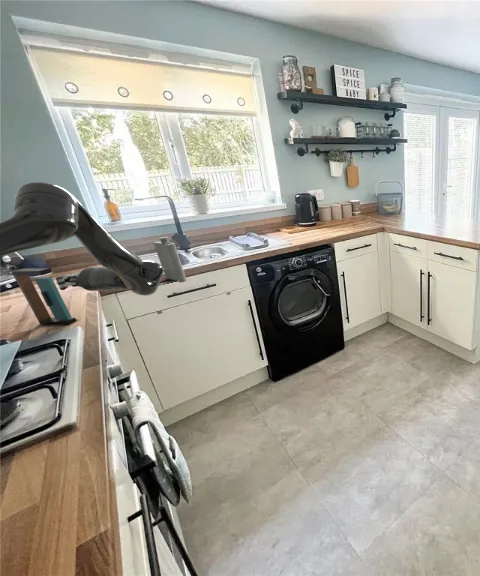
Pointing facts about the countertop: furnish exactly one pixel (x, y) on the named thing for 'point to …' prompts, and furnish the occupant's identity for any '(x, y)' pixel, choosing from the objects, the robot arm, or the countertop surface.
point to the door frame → (36, 295)
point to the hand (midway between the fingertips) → (59, 279)
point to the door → (53, 298)
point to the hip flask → (169, 259)
